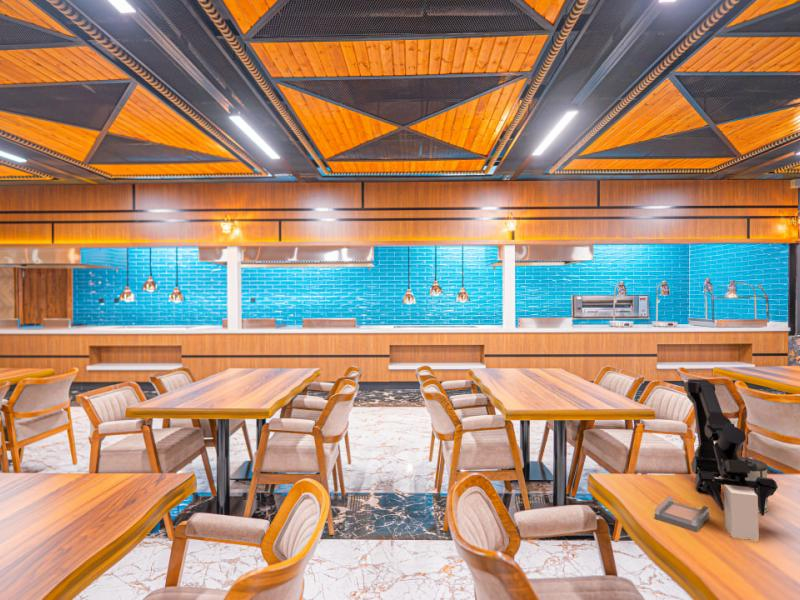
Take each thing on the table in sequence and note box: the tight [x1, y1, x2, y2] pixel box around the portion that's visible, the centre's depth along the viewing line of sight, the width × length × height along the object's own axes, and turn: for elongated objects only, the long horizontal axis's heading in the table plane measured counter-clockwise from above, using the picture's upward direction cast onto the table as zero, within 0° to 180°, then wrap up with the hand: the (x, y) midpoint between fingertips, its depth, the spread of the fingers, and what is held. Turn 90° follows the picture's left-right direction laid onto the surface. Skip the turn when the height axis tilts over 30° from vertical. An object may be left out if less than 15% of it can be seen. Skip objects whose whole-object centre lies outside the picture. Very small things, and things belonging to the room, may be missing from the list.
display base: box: [654, 496, 710, 533], centre depth 134 cm, size 13×11×3 cm
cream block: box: [723, 485, 760, 542], centre depth 124 cm, size 6×6×12 cm
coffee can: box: [739, 456, 769, 514], centre depth 142 cm, size 10×10×14 cm
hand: (742, 512), depth 123 cm, fingers open, 9 cm apart
